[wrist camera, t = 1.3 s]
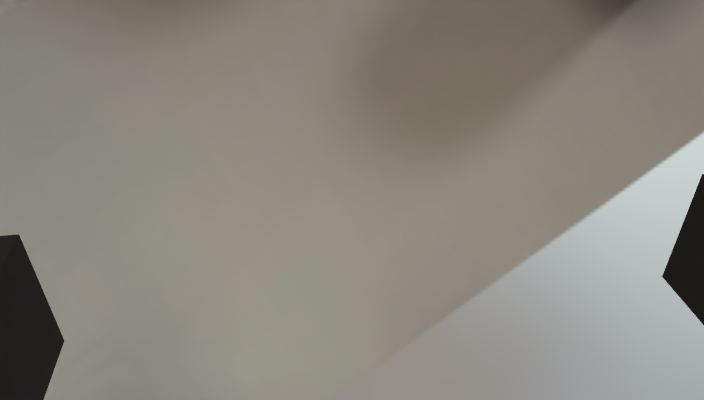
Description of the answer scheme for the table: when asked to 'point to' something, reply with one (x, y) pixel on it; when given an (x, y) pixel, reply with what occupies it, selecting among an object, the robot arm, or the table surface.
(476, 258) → the table surface
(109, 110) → the table surface
